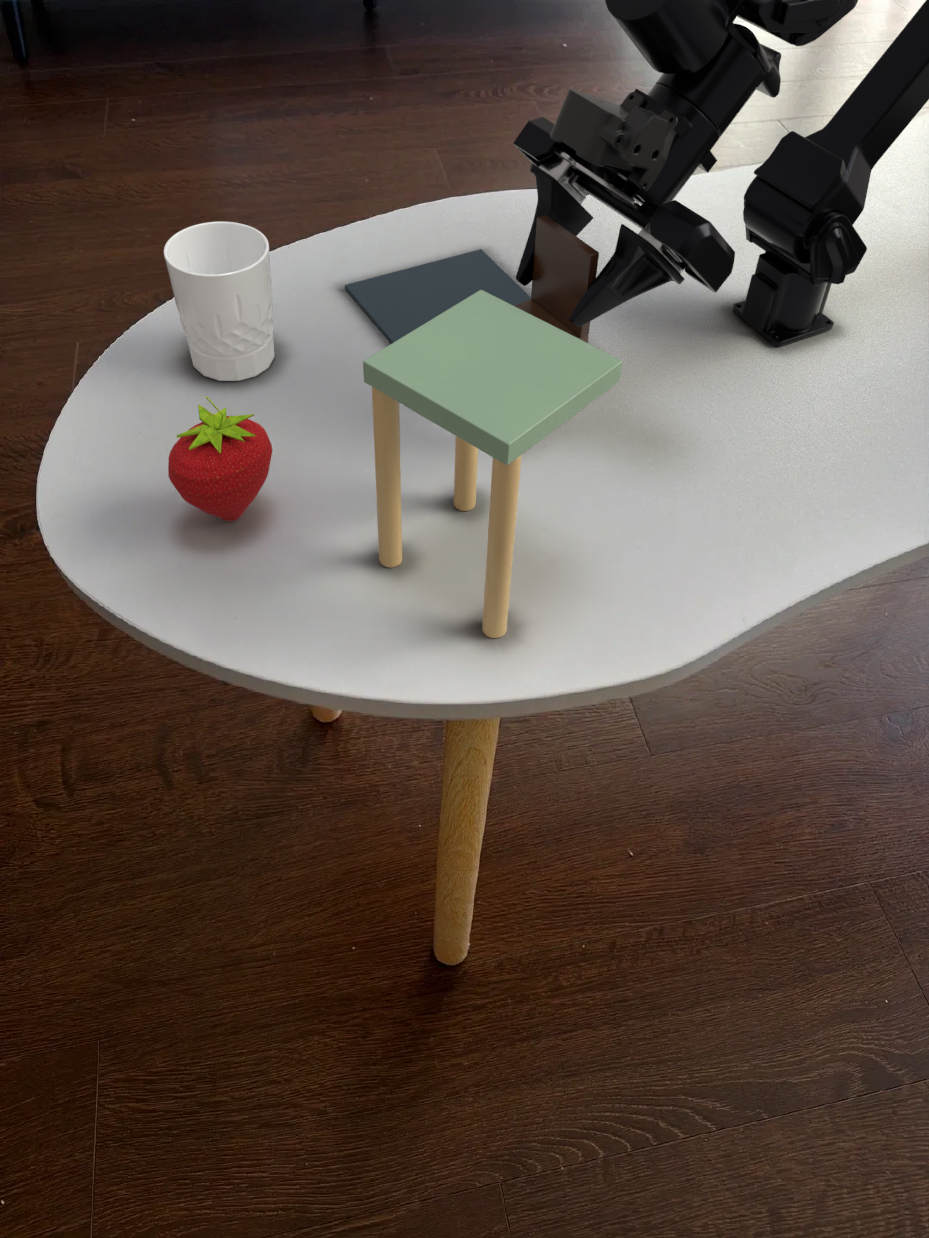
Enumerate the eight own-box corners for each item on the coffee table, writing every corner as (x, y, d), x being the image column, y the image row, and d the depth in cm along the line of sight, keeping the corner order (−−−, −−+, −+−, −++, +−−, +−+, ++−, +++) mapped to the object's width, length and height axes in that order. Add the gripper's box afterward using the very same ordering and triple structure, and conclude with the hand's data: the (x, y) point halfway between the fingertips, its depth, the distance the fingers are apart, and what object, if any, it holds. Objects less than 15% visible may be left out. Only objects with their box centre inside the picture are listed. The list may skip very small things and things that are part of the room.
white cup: (263, 393, 88) (249, 282, 80) (170, 379, 89) (147, 267, 81) (293, 338, 93) (282, 228, 85) (205, 325, 94) (186, 215, 86)
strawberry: (162, 523, 77) (134, 409, 70) (245, 473, 81) (227, 360, 74) (215, 565, 75) (192, 451, 67) (298, 511, 79) (285, 398, 71)
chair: (533, 357, 86) (545, 214, 77) (581, 396, 83) (599, 252, 74) (471, 382, 84) (476, 238, 75) (517, 423, 81) (528, 278, 72)
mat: (481, 252, 103) (481, 249, 103) (585, 353, 93) (585, 349, 92) (344, 288, 98) (344, 284, 98) (438, 399, 88) (438, 395, 88)
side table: (472, 487, 81) (480, 289, 69) (591, 559, 76) (623, 360, 64) (372, 561, 76) (362, 360, 63) (493, 644, 71) (508, 444, 59)
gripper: (543, -7, 73) (407, 193, 77) (740, 97, 63) (572, 321, 67) (619, 87, 82) (493, 262, 86) (801, 191, 72) (649, 384, 76)
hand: (545, 302), depth 79 cm, fingers closed on chair, 6 cm apart
